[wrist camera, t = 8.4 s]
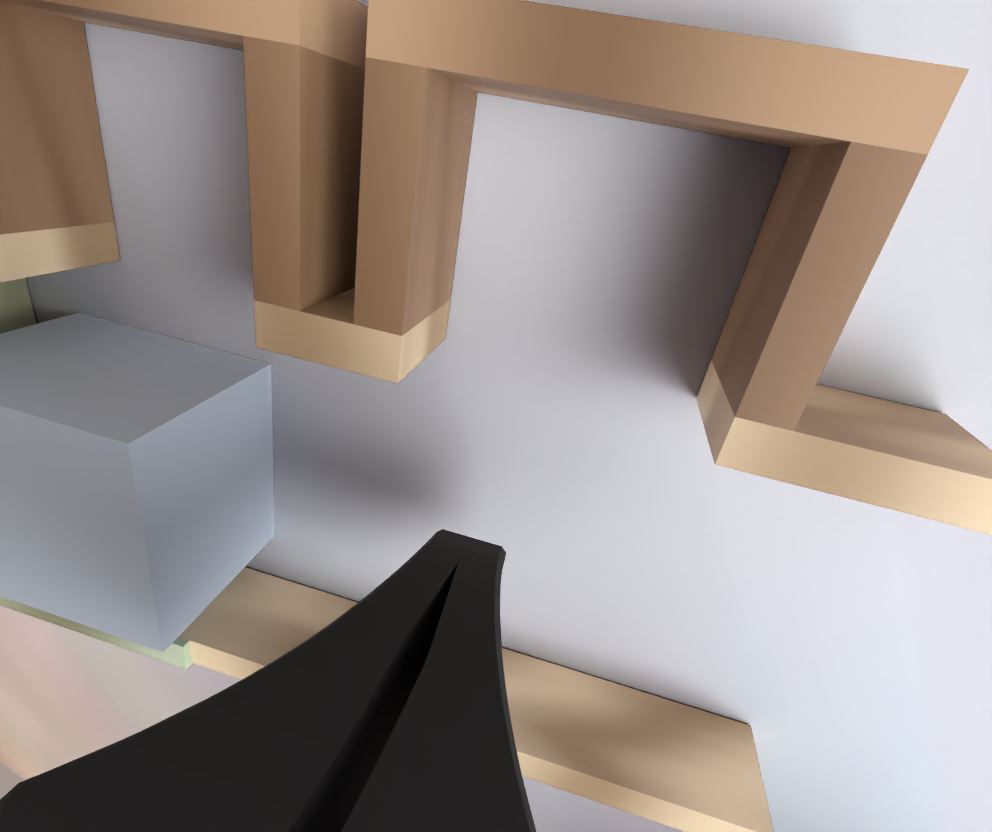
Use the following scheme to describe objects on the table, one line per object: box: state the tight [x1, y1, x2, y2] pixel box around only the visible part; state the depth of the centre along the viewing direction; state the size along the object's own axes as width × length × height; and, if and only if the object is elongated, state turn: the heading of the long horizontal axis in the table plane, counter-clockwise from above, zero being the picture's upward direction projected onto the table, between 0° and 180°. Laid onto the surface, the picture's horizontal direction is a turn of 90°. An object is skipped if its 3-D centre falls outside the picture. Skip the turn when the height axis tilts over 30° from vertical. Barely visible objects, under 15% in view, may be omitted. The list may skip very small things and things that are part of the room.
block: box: [0, 313, 275, 652], centre depth 12 cm, size 5×5×4 cm
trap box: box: [0, 0, 992, 832], centre depth 10 cm, size 20×14×3 cm
